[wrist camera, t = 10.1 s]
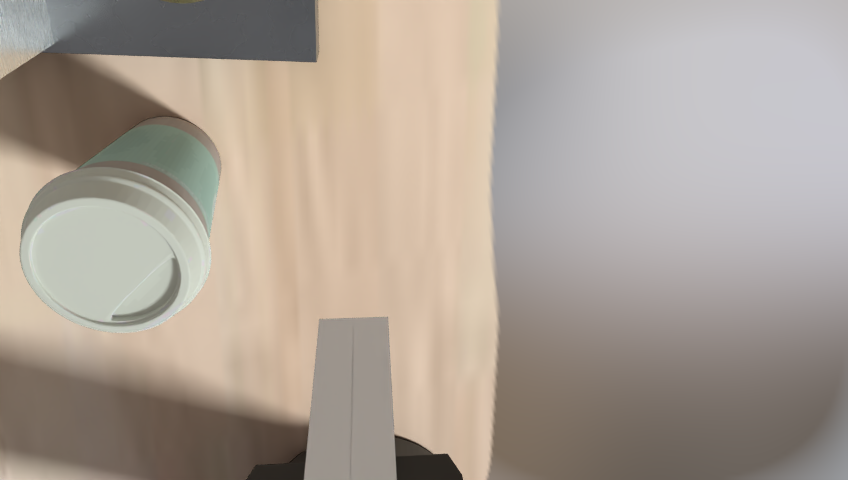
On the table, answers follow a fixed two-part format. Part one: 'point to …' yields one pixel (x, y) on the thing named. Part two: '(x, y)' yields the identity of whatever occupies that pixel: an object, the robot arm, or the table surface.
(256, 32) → the levelling base
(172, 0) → the door handle
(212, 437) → the table surface
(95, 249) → the coffee cup
